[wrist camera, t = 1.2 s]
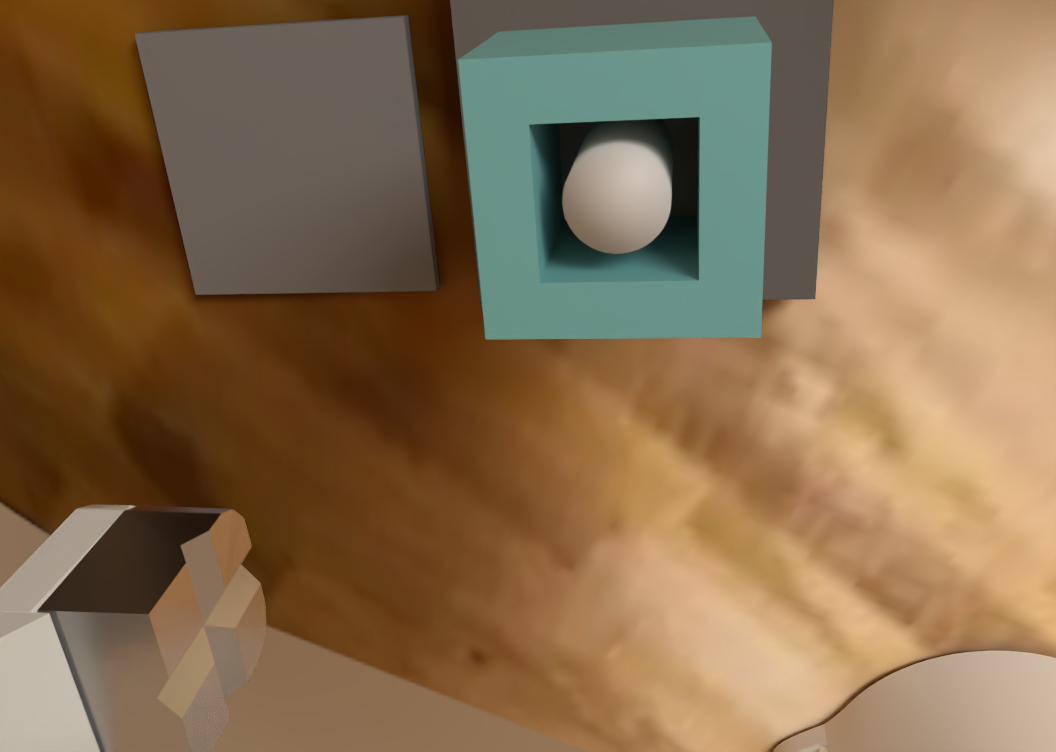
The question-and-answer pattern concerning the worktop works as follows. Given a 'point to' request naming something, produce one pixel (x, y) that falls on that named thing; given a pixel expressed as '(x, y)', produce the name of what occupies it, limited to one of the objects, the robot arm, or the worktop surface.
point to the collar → (536, 183)
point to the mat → (295, 155)
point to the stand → (684, 131)
